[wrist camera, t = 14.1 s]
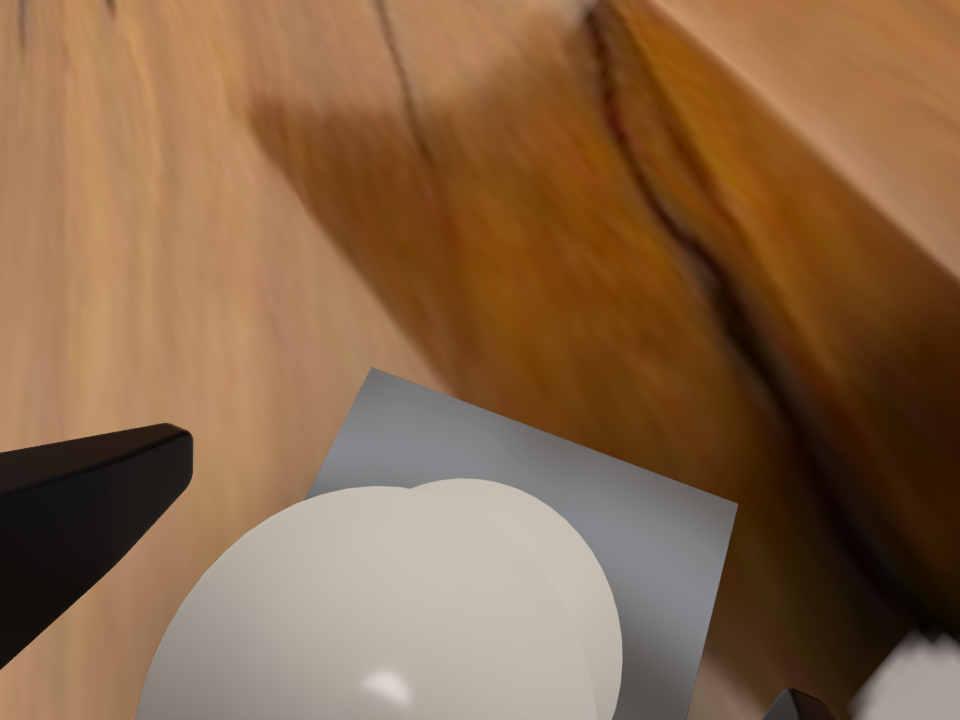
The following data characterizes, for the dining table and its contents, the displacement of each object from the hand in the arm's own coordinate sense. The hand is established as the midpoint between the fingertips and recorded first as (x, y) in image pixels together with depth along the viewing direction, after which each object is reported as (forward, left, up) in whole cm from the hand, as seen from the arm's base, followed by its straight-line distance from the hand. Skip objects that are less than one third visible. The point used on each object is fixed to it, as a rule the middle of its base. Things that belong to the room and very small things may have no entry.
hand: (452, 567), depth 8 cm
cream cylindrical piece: (-2, 0, -10) cm, 10 cm away
